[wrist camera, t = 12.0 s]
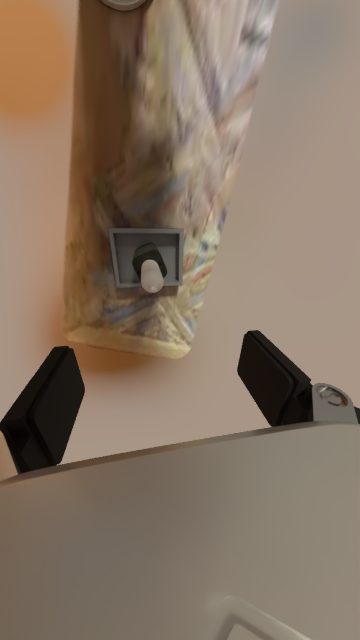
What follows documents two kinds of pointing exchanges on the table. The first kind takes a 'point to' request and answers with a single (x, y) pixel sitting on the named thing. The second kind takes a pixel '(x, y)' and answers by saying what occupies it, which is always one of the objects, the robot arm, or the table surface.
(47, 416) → the robot arm
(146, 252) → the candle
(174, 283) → the tray
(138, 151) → the table surface
